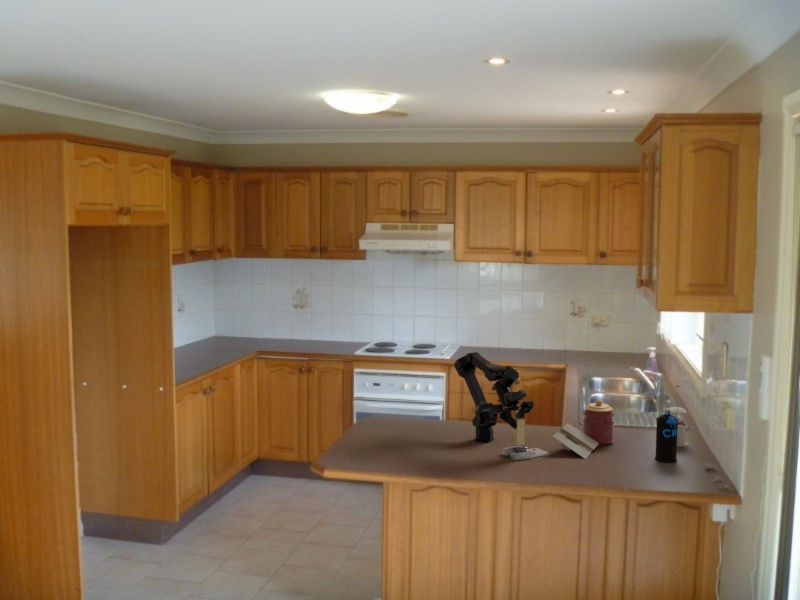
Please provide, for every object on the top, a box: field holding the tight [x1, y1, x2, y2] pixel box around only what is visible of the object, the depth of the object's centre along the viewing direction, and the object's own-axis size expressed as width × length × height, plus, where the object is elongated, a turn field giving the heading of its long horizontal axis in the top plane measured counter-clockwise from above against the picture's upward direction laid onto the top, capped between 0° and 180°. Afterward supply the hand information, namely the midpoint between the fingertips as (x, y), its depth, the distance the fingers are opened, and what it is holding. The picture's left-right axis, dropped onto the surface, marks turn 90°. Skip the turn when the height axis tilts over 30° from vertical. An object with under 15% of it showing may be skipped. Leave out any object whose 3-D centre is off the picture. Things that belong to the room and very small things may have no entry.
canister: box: [582, 399, 615, 446], centre depth 330 cm, size 13×13×18 cm
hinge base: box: [502, 445, 550, 461], centre depth 311 cm, size 17×9×3 cm, turn 115°
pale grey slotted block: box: [552, 422, 599, 459], centre depth 317 cm, size 16×9×15 cm
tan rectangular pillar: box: [510, 416, 526, 446], centre depth 308 cm, size 4×4×10 cm
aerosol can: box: [654, 408, 679, 464], centre depth 304 cm, size 8×8×20 cm
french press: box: [667, 383, 688, 447], centre depth 327 cm, size 10×12×25 cm
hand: (519, 427), depth 307 cm, fingers closed on tan rectangular pillar, 4 cm apart
